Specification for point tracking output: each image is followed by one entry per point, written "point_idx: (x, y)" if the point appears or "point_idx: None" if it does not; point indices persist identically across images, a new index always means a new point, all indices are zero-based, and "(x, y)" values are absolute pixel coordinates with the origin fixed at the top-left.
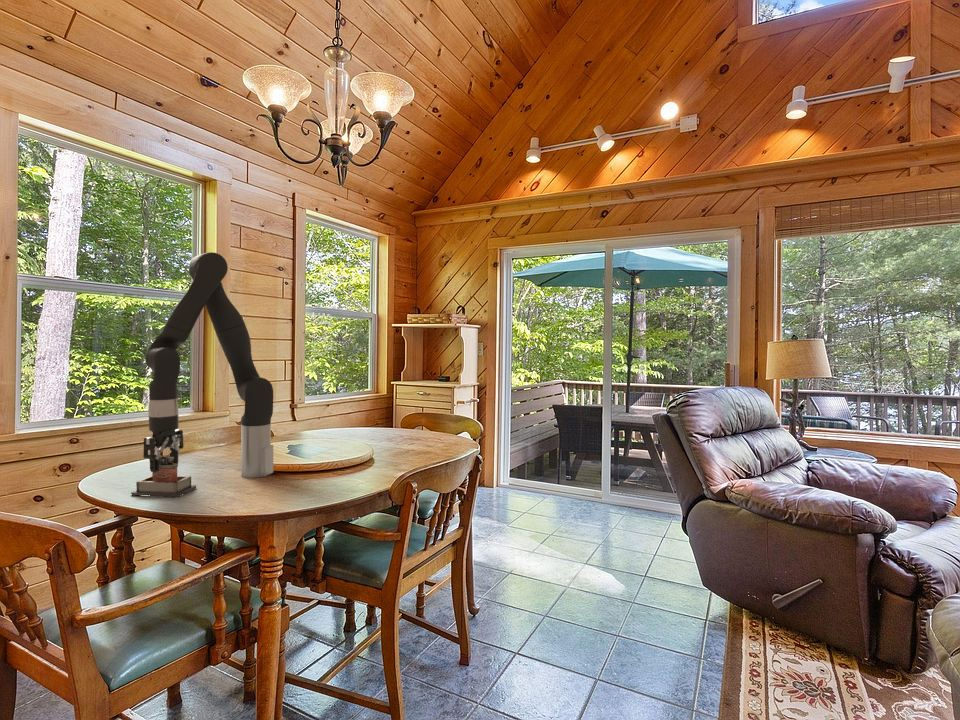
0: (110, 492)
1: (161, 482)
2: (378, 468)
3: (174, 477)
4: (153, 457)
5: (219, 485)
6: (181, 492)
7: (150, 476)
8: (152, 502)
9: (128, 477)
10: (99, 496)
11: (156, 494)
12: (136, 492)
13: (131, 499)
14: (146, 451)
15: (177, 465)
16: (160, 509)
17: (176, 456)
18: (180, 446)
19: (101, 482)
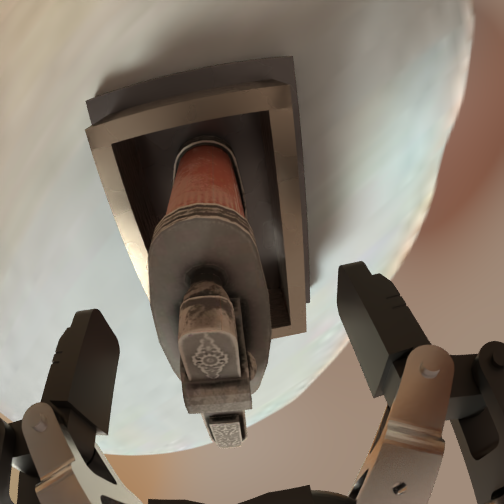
0: (276, 370)
1: (299, 201)
2: None
3: (217, 170)
4: (486, 352)
5: (9, 40)
6: (244, 61)
7: None
8: (383, 128)
9: (135, 420)
10: (322, 361)
11: (303, 184)
12: (306, 285)
13: (349, 253)
14: (486, 437)
15: (179, 214)
16: (454, 28)
17: (76, 367)
18: (7, 444)
19: (201, 431)
